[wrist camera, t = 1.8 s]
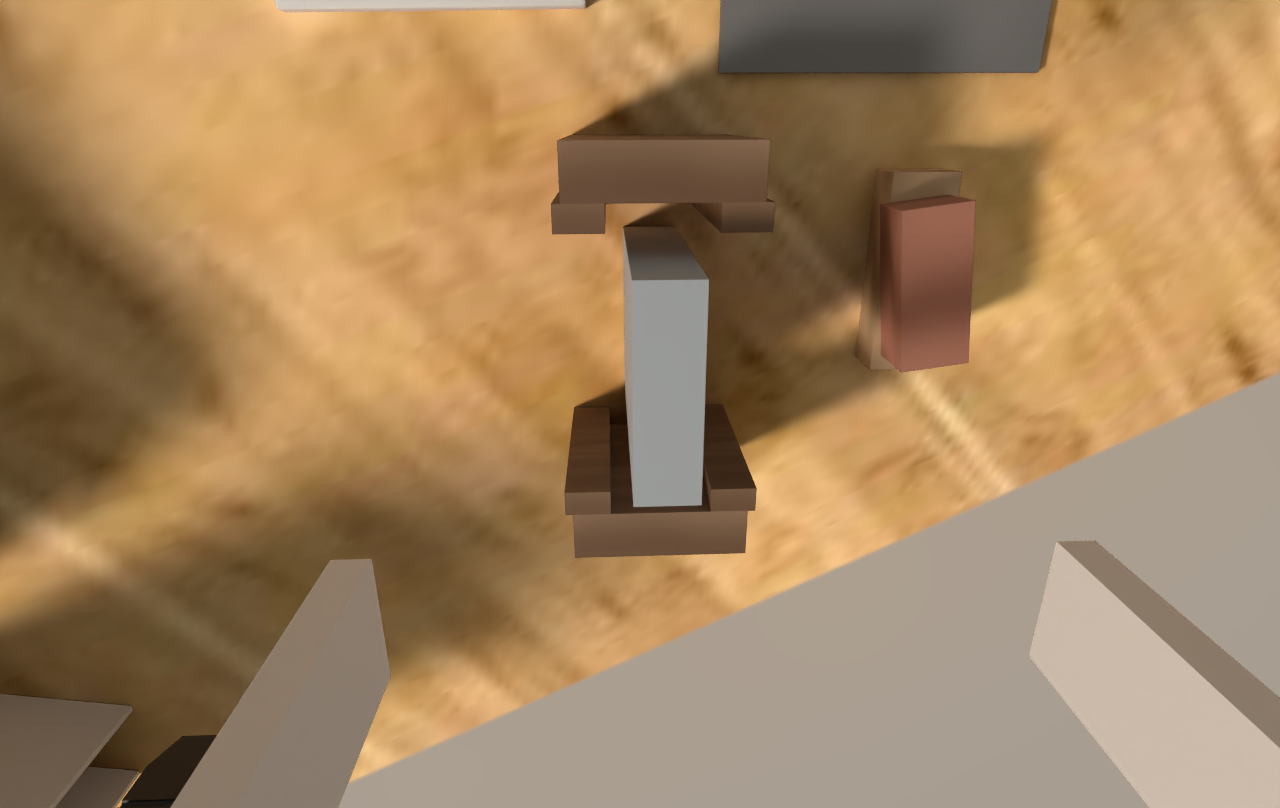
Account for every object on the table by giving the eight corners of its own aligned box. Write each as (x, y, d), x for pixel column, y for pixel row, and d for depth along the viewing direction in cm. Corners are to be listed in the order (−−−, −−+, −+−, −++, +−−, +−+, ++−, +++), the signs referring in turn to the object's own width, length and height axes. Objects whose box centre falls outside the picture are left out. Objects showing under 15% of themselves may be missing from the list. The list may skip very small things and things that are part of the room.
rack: (563, 135, 32) (547, 140, 23) (733, 134, 32) (779, 139, 24) (576, 460, 37) (567, 557, 29) (720, 457, 38) (752, 553, 29)
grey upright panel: (623, 226, 33) (631, 280, 22) (674, 226, 33) (709, 279, 22) (624, 388, 36) (633, 506, 25) (672, 387, 36) (701, 505, 25)
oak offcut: (873, 168, 33) (894, 172, 31) (937, 168, 33) (962, 171, 31) (853, 354, 36) (870, 369, 34) (910, 353, 37) (931, 368, 34)
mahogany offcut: (879, 204, 31) (901, 210, 29) (947, 194, 31) (975, 200, 29) (880, 355, 34) (901, 372, 32) (943, 346, 34) (968, 362, 32)
